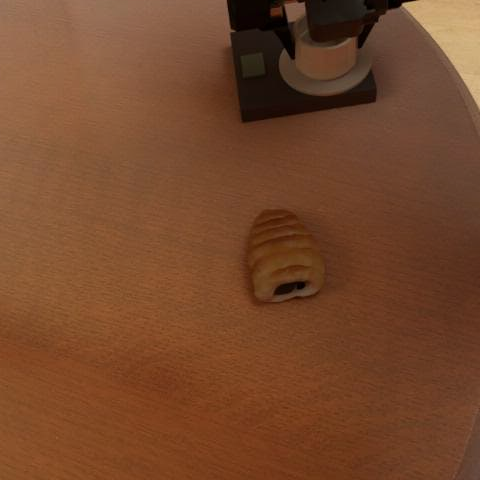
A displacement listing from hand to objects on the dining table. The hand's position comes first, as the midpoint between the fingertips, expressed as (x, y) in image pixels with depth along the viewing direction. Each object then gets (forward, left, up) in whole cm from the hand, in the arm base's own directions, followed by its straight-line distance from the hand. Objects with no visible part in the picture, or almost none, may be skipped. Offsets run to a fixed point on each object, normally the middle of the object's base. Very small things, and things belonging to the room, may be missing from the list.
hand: (325, 51), depth 78 cm
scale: (+3, -1, -4) cm, 5 cm away
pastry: (+8, +23, -4) cm, 24 cm away
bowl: (0, 0, -1) cm, 1 cm away
